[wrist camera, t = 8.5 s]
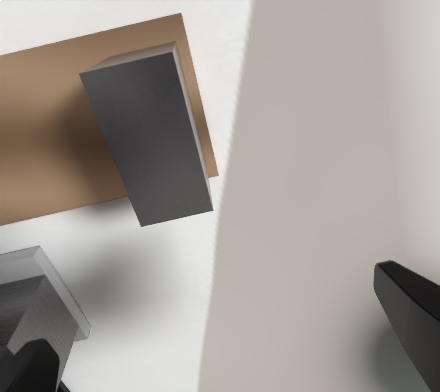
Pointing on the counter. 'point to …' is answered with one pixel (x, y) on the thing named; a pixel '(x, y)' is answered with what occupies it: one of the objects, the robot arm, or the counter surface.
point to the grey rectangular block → (36, 306)
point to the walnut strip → (67, 122)
